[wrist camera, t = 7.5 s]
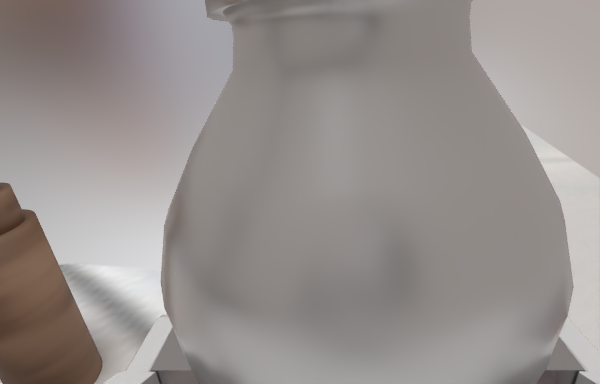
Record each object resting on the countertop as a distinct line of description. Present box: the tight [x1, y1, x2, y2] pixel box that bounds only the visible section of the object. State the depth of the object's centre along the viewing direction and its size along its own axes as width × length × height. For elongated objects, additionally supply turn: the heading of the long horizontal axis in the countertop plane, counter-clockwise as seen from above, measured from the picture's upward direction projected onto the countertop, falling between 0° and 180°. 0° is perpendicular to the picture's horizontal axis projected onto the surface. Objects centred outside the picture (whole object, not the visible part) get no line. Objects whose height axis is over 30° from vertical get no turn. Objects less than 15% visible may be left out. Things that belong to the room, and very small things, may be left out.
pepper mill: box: [0, 183, 102, 384], centre depth 21 cm, size 5×5×17 cm
